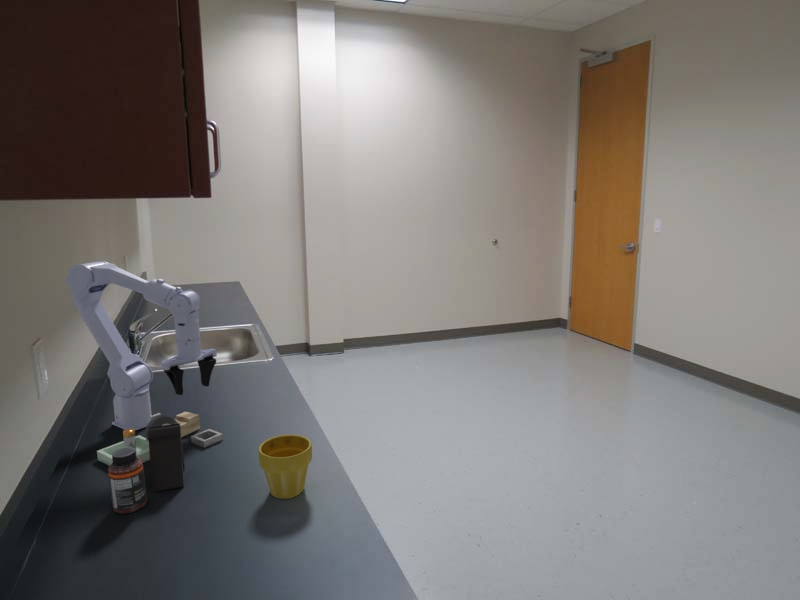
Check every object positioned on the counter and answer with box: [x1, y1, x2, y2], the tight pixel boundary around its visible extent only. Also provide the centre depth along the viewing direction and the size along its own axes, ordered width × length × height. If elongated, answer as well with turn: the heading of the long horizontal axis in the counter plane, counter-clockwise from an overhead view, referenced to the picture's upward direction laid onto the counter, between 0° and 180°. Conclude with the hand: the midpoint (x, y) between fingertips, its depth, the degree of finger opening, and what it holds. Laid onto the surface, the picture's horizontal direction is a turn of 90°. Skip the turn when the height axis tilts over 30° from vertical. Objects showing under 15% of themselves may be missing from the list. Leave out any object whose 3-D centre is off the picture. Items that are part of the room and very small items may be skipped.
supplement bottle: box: [107, 447, 148, 514], centre depth 103 cm, size 6×6×11 cm
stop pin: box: [122, 428, 137, 454], centre depth 123 cm, size 2×2×6 cm
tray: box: [96, 434, 150, 467], centre depth 124 cm, size 10×10×2 cm
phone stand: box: [148, 423, 186, 494], centre depth 112 cm, size 9×6×12 cm, turn 19°
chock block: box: [174, 411, 201, 438], centre depth 137 cm, size 5×7×4 cm
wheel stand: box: [144, 412, 177, 440], centre depth 130 cm, size 5×7×7 cm
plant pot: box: [258, 434, 313, 500], centre depth 108 cm, size 10×10×10 cm
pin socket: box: [190, 428, 224, 448], centre depth 131 cm, size 5×5×2 cm
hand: (192, 389), depth 139 cm, fingers open, 7 cm apart
